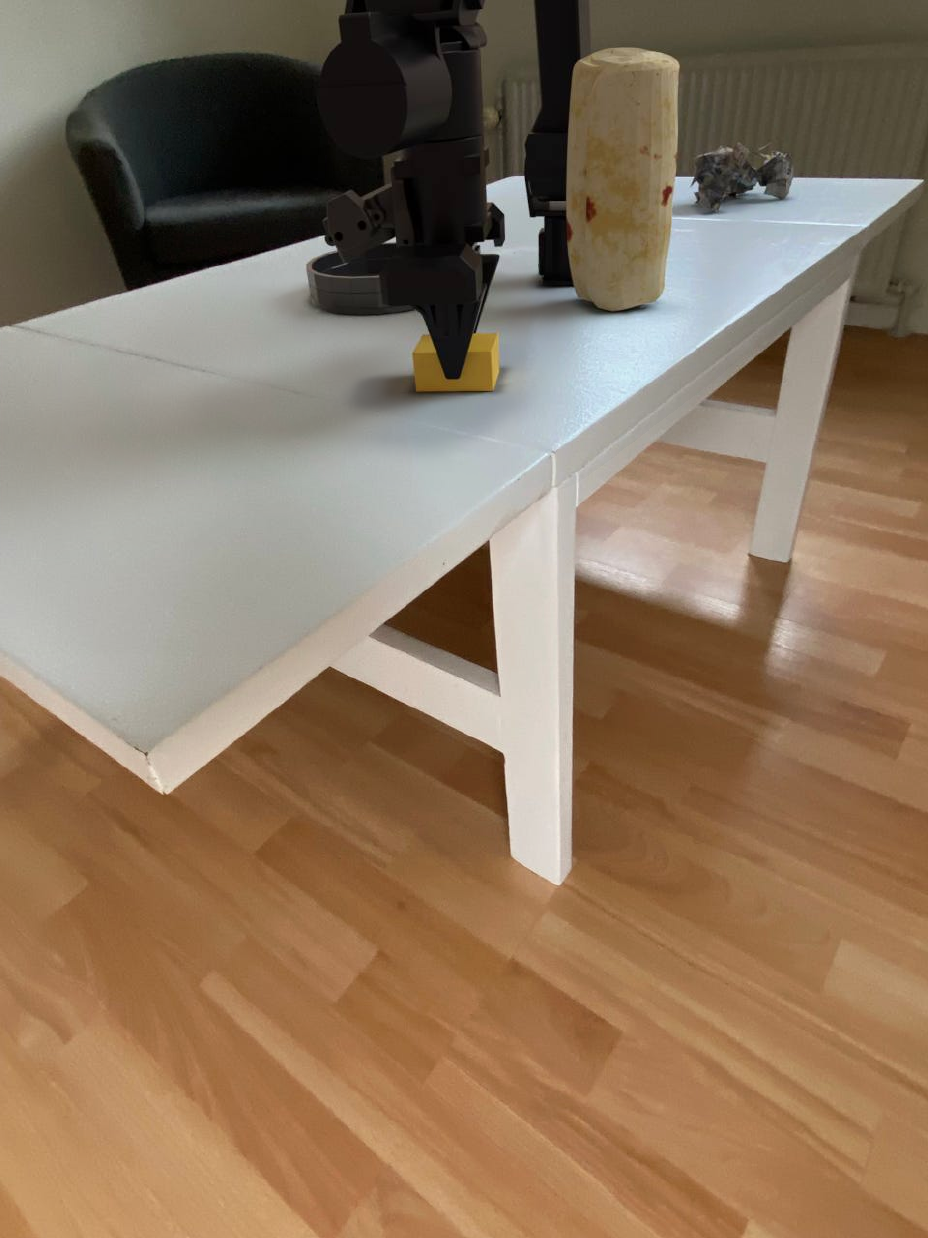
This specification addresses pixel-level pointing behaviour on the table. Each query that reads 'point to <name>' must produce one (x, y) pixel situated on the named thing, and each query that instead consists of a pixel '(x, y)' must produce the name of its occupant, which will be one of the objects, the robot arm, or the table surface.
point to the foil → (739, 175)
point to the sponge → (475, 372)
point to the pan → (351, 282)
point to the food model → (621, 175)
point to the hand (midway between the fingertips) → (457, 367)
